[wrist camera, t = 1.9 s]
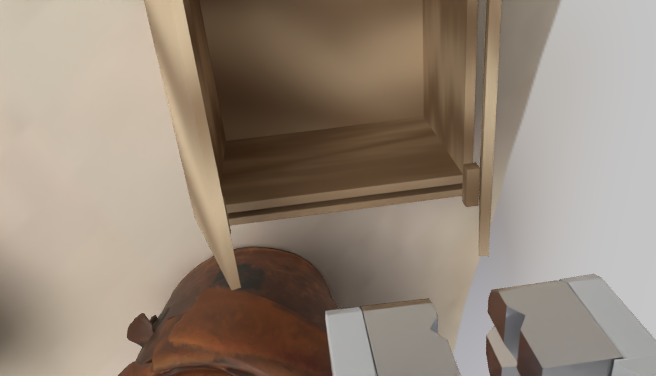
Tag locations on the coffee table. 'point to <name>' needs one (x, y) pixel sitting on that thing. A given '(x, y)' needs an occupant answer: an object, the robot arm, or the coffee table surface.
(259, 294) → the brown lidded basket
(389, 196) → the wooden flap box
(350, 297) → the coffee table surface
